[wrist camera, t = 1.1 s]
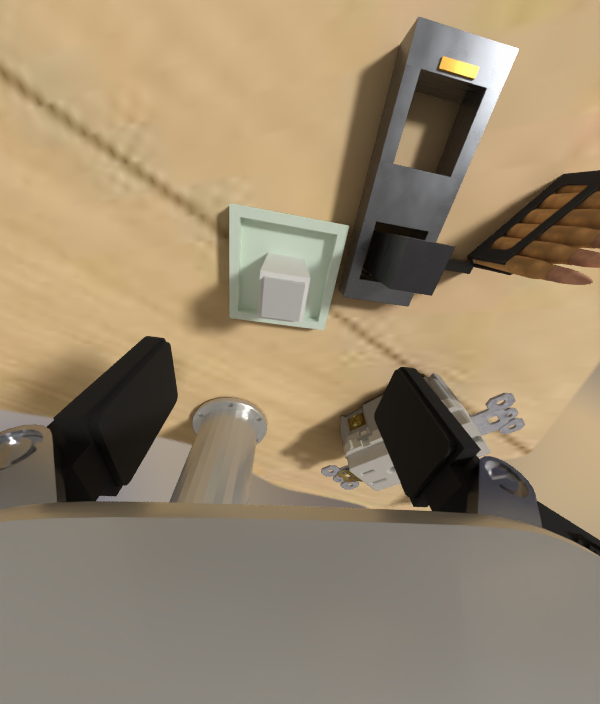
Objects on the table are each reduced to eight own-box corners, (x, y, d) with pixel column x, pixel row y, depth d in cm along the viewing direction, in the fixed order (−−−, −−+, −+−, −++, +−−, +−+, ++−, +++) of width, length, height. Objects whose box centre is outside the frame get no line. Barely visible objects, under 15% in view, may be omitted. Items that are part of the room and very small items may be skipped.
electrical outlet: (487, 390, 38) (538, 443, 30) (344, 451, 49) (353, 503, 40) (465, 344, 33) (519, 394, 25) (311, 424, 43) (313, 477, 35)
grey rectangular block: (298, 292, 28) (302, 326, 20) (265, 287, 27) (256, 320, 19) (303, 258, 26) (311, 280, 18) (268, 252, 25) (259, 272, 17)
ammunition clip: (473, 267, 28) (581, 299, 18) (466, 256, 27) (574, 283, 17) (569, 188, 24) (778, 171, 14) (564, 173, 23) (780, 143, 13)
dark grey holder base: (446, 305, 30) (500, 337, 23) (338, 289, 28) (357, 317, 21) (558, 91, 20) (724, 17, 12) (400, 43, 18) (482, -78, 11)
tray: (322, 324, 31) (324, 330, 29) (232, 312, 29) (229, 318, 28) (345, 224, 25) (349, 225, 23) (233, 203, 23) (229, 202, 22)
